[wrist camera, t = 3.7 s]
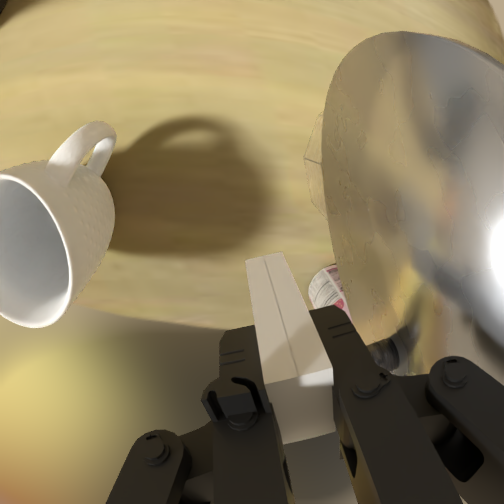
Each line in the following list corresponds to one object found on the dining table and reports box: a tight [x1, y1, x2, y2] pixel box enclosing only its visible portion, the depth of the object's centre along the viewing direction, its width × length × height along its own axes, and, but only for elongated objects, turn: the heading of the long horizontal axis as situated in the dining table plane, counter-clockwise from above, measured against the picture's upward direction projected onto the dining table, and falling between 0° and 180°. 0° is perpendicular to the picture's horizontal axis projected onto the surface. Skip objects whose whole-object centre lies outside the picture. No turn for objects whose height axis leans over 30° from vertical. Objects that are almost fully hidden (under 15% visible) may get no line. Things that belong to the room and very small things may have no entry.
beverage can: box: [309, 265, 353, 323], centre depth 26 cm, size 6×6×15 cm
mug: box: [0, 121, 117, 328], centre depth 20 cm, size 15×11×13 cm
